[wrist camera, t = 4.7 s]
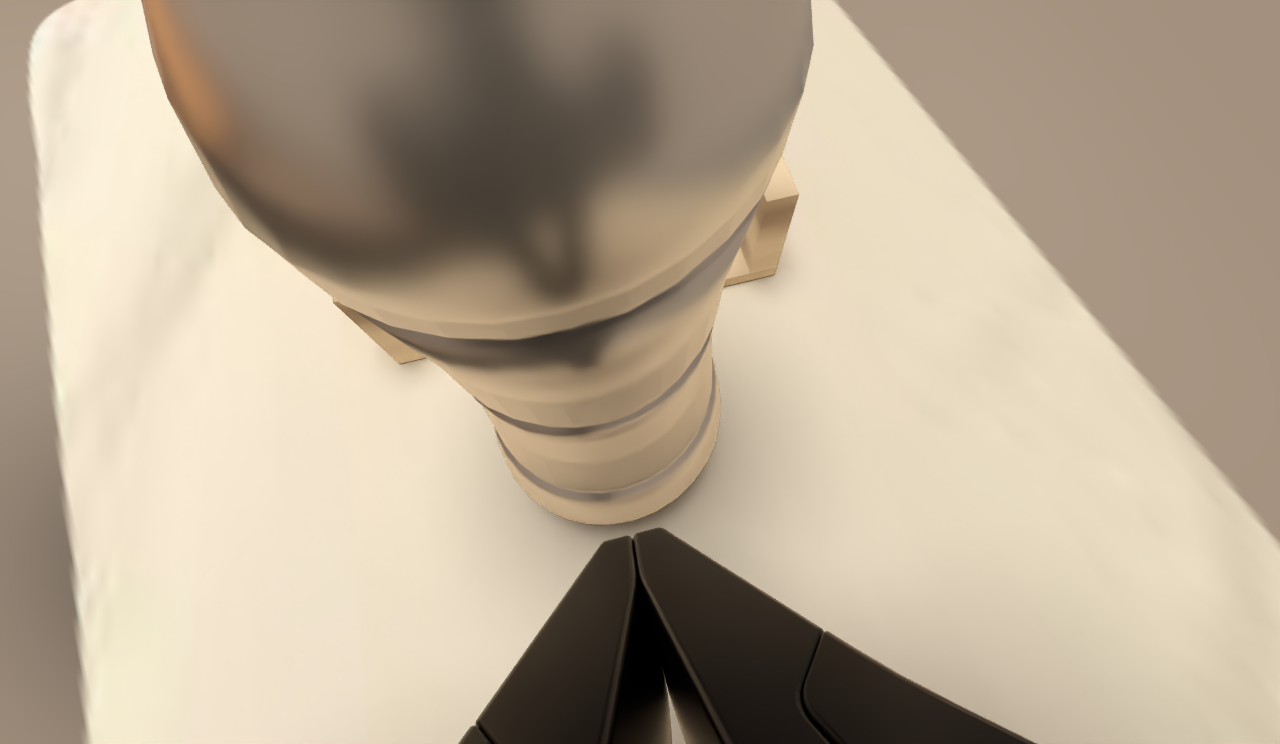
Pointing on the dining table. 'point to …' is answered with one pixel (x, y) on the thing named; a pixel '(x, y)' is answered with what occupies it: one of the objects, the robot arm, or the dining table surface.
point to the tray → (749, 264)
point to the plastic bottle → (511, 197)
